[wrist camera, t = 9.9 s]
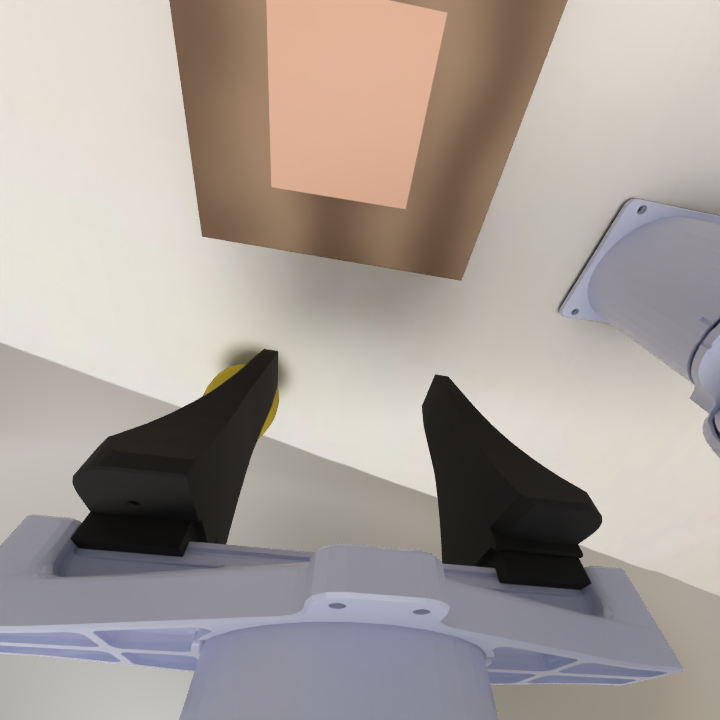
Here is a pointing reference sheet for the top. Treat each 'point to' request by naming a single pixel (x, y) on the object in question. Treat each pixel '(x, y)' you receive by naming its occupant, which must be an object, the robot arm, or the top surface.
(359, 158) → the cube
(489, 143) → the walnut block
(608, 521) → the top surface
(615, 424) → the top surface
